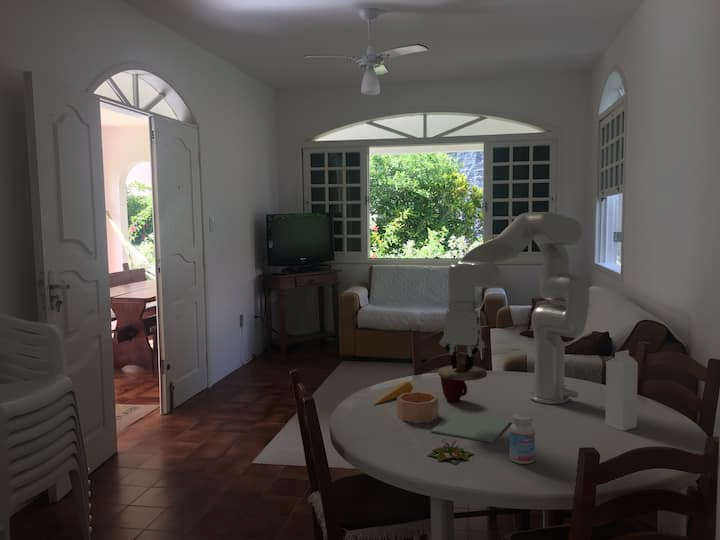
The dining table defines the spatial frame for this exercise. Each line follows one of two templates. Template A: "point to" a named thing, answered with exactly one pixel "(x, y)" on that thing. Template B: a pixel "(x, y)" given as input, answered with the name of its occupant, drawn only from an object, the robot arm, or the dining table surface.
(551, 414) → the dining table surface
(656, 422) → the dining table surface
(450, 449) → the lily flower
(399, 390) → the carrot
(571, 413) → the dining table surface
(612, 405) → the milk
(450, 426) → the mat
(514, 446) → the pill bottle
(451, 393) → the mug
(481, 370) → the lid
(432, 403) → the bowl
